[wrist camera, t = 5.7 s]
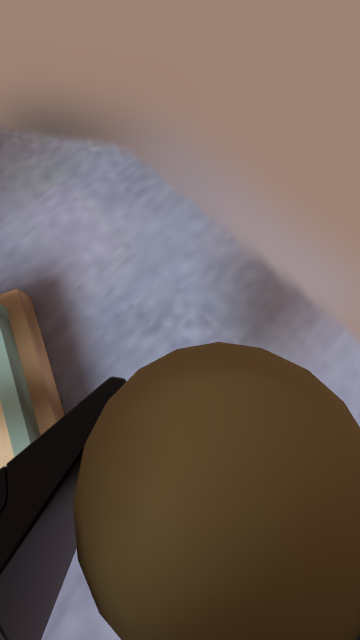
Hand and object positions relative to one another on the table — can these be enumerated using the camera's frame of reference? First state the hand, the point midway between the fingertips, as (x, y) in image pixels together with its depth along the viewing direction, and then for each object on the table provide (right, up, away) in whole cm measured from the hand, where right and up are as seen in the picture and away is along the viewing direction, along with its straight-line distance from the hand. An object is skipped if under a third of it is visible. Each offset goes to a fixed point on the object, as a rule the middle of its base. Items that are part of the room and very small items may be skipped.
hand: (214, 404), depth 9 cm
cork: (0, -3, +6) cm, 7 cm away
